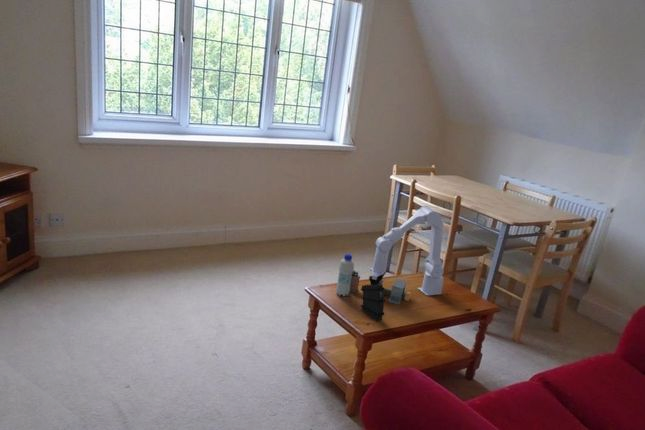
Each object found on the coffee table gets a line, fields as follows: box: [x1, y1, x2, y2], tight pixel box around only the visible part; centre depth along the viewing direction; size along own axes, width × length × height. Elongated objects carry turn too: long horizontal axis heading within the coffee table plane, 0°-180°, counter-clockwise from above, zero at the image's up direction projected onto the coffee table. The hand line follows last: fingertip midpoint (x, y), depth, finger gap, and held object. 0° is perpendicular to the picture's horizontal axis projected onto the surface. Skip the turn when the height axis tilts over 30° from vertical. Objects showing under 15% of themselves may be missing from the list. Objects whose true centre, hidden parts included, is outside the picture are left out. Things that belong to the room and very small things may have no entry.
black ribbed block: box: [360, 284, 386, 322], centre depth 208 cm, size 4×13×15 cm, turn 34°
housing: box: [387, 278, 408, 305], centre depth 229 cm, size 5×16×7 cm, turn 160°
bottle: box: [335, 253, 355, 297], centre depth 222 cm, size 7×7×20 cm
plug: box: [378, 279, 411, 302], centre depth 230 cm, size 17×3×5 cm, turn 70°
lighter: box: [349, 269, 361, 293], centre depth 229 cm, size 8×3×10 cm, turn 84°
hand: (375, 287), depth 233 cm, fingers open, 7 cm apart
